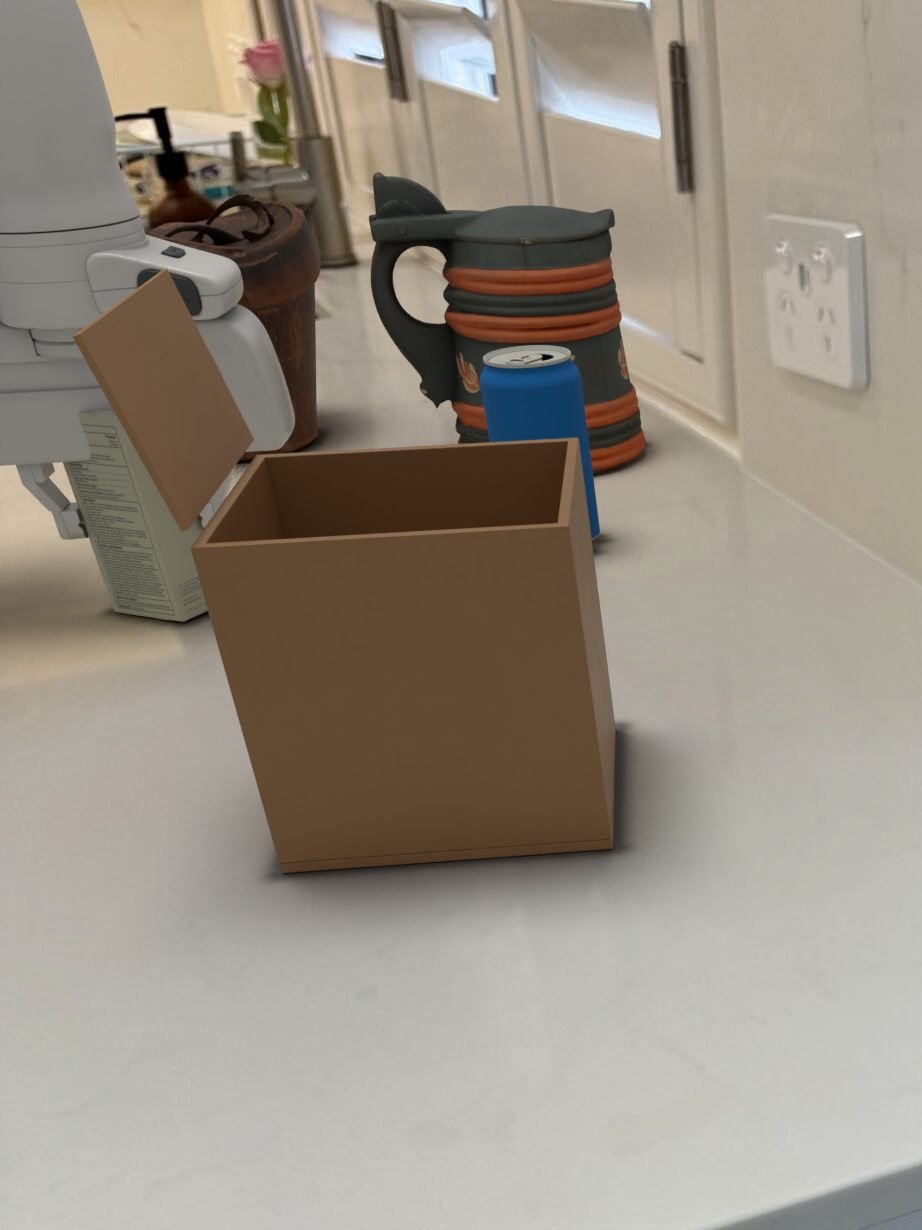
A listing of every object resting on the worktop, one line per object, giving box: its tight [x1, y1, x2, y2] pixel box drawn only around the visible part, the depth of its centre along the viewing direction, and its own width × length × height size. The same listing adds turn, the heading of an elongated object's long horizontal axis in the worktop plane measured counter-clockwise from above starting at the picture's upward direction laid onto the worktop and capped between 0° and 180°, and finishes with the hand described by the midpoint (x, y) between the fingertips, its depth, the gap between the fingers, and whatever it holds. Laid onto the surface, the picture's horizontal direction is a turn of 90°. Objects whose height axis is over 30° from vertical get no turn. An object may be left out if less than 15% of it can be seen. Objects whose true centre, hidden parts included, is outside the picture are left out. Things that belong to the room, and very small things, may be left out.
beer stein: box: [368, 171, 647, 475], centre depth 120 cm, size 19×15×20 cm
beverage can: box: [480, 345, 601, 541], centre depth 105 cm, size 6×6×12 cm
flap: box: [73, 269, 254, 532], centre depth 65 cm, size 7×14×1 cm
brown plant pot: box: [144, 193, 321, 461], centre depth 127 cm, size 18×20×18 cm
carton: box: [191, 438, 617, 874], centre depth 73 cm, size 15×14×14 cm
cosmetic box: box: [62, 410, 208, 623], centre depth 97 cm, size 6×4×12 cm
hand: (149, 532), depth 97 cm, fingers closed on cosmetic box, 7 cm apart
